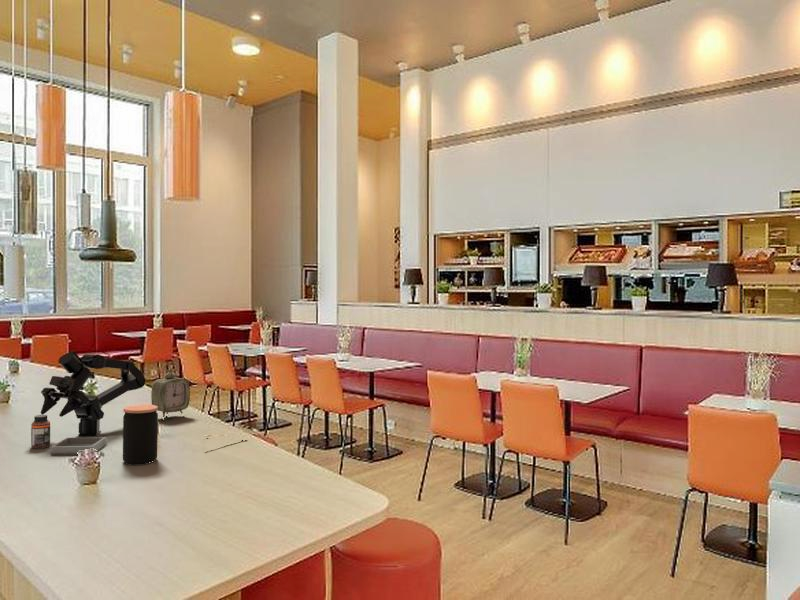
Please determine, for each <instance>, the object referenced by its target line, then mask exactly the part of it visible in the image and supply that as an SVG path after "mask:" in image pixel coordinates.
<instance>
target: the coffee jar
mask: <svg viewBox="0 0 800 600" xmlns="http://www.w3.org/2000/svg"><path fill="white" fill-rule="evenodd" d="M157 410H158V406H156V405H152V404H136V405H134V404H133V405H129V406H125V407H123V412H124V415H123V419H122V421H123V422H122V426H123V427H122V461H123V462H124V464H126V463H127V464H126V465H128V464H144V465H146V464H145V463H149V462H152V461H154V460H155V461H156V460H157V458H158V430H159V428H158V423H159V421H158V419H159V414H158V412H157ZM155 461H154V462H155ZM152 463H153V462H152ZM149 464H150V463H149Z"/></svg>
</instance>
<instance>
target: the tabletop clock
mask: <svg viewBox="0 0 800 600" xmlns="http://www.w3.org/2000/svg"><path fill="white" fill-rule="evenodd" d="M171 364H174V365H175V368H174V369H172V368H171V367H170V368H169V369H166V367H167V366H168V365H171ZM163 369H164V371H165V372H167V373H166V374H165V375H164V377H163V378H158V379H156V380H154V381H153V382H152V385H151V395H150V398H151V405H156V406H158V410H157V411H159V412H162V417H165V414H168V415H169V413H177V412H180V414H182V413H184V412H183V411H184V410H186V409H188V407H189V405H190V396H191V387H190V382H189V379H187V378H182V377H181V378H180V377H178V376H177V374H176V372H175V371H176V370H177V369H178V364H177V362H174V361H170V362H166V363H165V364H164V366H163ZM157 411H156V412H157Z"/></svg>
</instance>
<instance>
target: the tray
mask: <svg viewBox="0 0 800 600" xmlns="http://www.w3.org/2000/svg"><path fill="white" fill-rule="evenodd" d="M103 446H104V447H106V446H107V436H104V437H103V436H99V437H96V436H95V437H94V436H93V437H92V436H90V437H89V436H87V437H85V436H84V437H83V436H79V437H66V438H64V439H62V440H60V441H59V442H57V443H56V444H53V445H52V446H50V456H77V455H76V454H77V452H78V451H79V450H85V449H90V448H94V449H96V450H98V451H100V450H101V449H103V448H104V447H103ZM102 447H103V448H102ZM100 448H101V449H100ZM99 449H100V450H99Z"/></svg>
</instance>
